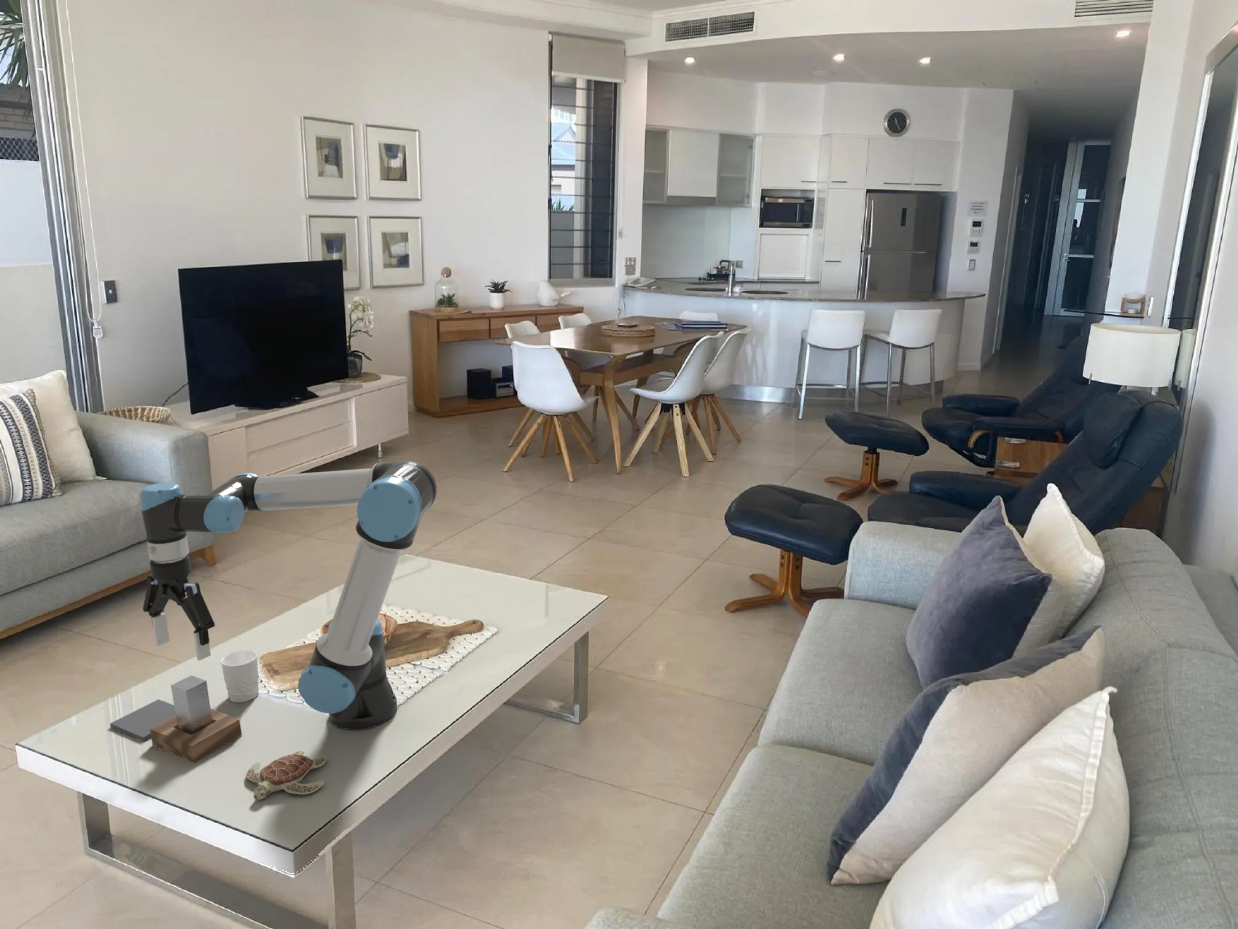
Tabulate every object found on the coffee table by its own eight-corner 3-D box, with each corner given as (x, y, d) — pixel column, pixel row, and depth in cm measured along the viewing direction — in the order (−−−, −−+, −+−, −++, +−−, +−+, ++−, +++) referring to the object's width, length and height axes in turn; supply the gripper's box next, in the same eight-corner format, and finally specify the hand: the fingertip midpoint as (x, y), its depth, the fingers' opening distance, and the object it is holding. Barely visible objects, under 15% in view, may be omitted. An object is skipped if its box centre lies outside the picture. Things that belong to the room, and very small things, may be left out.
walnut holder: (241, 735, 206) (239, 719, 205) (194, 763, 196) (191, 746, 195) (200, 719, 212) (198, 703, 211) (152, 745, 202) (149, 728, 201)
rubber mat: (192, 716, 214) (191, 712, 214) (143, 741, 204) (143, 737, 204) (159, 703, 220) (158, 699, 219) (110, 727, 210) (110, 723, 209)
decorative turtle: (221, 794, 186) (217, 773, 184) (281, 751, 200) (278, 730, 199) (291, 817, 179) (289, 794, 177) (348, 770, 193) (346, 748, 192)
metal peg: (214, 737, 205) (206, 680, 201) (195, 749, 201) (185, 691, 197) (200, 731, 207) (191, 675, 204) (180, 742, 203) (170, 685, 199)
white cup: (249, 705, 218) (244, 667, 215) (219, 702, 220) (213, 664, 217) (268, 689, 225) (263, 651, 223) (239, 686, 227) (233, 649, 224)
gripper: (115, 552, 195) (130, 644, 201) (192, 574, 183) (206, 671, 189) (148, 541, 202) (162, 631, 207) (224, 562, 190) (237, 656, 195)
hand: (183, 650), depth 198 cm, fingers open, 13 cm apart
